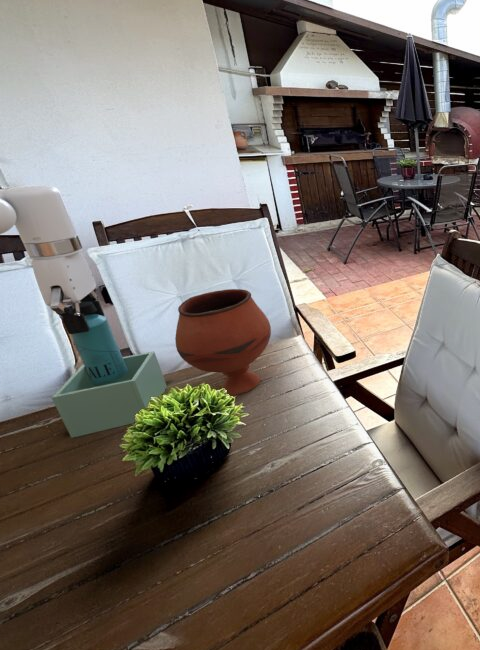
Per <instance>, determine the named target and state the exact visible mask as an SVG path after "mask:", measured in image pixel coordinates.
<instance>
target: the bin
mask: <svg viewBox="0 0 480 650" xmlns="http://www.w3.org/2000/svg"><path fill="white" fill-rule="evenodd" d="M123 357H124V358H123V359H124V361H125V363H126V367H127V373H126V374H125V375H124V376H122V377H120V378H118V379H116V380H114V381H111V382H107V383H102V384H95V383H93V382H92V381H91V380H90V378H89V376H88V374H87V370H85V369H84V367H85V366H84V364H83V363H82V364H81V365H80V366H79V368H77V370H76V371H75V372H74V373H73V374H72V375H71V376H70V377H69V378H68V379H67V380H66V381H65V383H64V384H63V385H62V386H61V387H60V388H59V389H58V390H57V391H56V392H55V393H54V394H53V395H52V397H51V399H52V402H53V404H54V406H55V408H56V410H57V412H58V414H59V416H60V418H61V419H62V422H63V424H64V426H65V427H66V430H67V432H68V434H69V436H70V438H71V439H73V438H78V437H81V436H87V435H90V434H94V433H98V432H103V431H107V430H112V429H115V428H119V427H123V426H127V425H132V424H135V423H134V422H135V415H136V413H138V412H139V411H140V410H141V409H143V408H147V407H148V404H149V401H150V399H151V397H158V396H160V395H161V394H163V393H164V394H165V392H166V390H167V388H168V386H167V383H166V379H165V376H164V374H163V372H162V369H161V367H160V363H159V361H158V358H157V355H156V353H155V351H149V352H144V353H143V352H142V353H137V354H132V355H127V356H123ZM165 389H166V390H165ZM164 394H163V395H164Z"/></svg>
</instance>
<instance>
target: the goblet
mask: <svg viewBox="0 0 480 650" xmlns="http://www.w3.org/2000/svg"><path fill="white" fill-rule="evenodd" d="M177 311H178V319H177V324H176V329H175V338H174V340H175V341H174V342H175V348H176V351H177V353H178V355H179V356H180V358H181V359H182V360H183V361H185V363H187V364H188V365H190V366H192V367H194V368H195V369H197V370H200V371H203V372H207V373H217V374H218V373H219V374H220V373H222V375H224V376H225V377H226V378H225V379H224V381H223V382H222V385H221V389H222V388H225V389H226V390H227V393H228V394H229V395H232V396H238V395H241V394H244V393H247V392H249V391H251V390H253V389H255V388H256V387H257V386H258V385H259V384H260V382H261V378H260V376H259V375H258V374H256V373H254V372H252V371H250V370H249V368H250V364H253V363H254V362H256V360H257V359H258V358H259V357H261V355H262V353H264V351H265V350H266V348H267V347H268V345H269V342H270V339H271V335H272V328H271V323H270V321H269V318H268V317H267V316H266V314H265V312H264V311H263V310H262V309H261V308H260V306H259V305H258V304H257V303H256V302H255V300H254V298H253V297H252V293H251V291H249V290H246V289H240V288H229V289H228V288H227V289H222V290H215V291H210V292H206V293H201V294H198V295H194V296H191V297H189V298H187V299H186V300H184V301H183V302H182V303H181V304H180V305H179V306H178V308H177ZM229 395H228V396H229Z"/></svg>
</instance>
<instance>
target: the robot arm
mask: <svg viewBox="0 0 480 650" xmlns="http://www.w3.org/2000/svg"><path fill="white" fill-rule="evenodd" d="M60 191H61V190H59V189H58V188H57V187H55V186H53V185H48V184H44V185H43V184H35V185H21V186H14V187H9V188H3V189H1V188H0V235H2V234H4V233H7V232H8V231H10V230H11V229H12V228H13V227H14V226H15V228H16V231H17V233H18V235H19V238H20V240H21V241H22V244H23V246H24V248H25V250H26V253H27V255H28V257H29V259H30V260H31V264H32V269H33V275H34V277H35V278H34V279H35V280H36V283H37V287H38V290H39V292H40V294H41V297H42V299H43V302H44V303H45V305H46V306H48V307H49V308H50V310H51V311H53V312H54V313H55V314H56V315H58V316H59V318H60V319H61V320H62V322H63V324H64V327H65V330H66V331H67V334H69V335H71V334H76V333H82V332H88V331H89V330H90V328H89V326H88V324H87V321H86V319H85V316H86V315H85V316H84V314H80V308H79V303H81V302H92V303H93V304H94V306H95V307H96V311H95V312H94V313H91V314H97V315H101V316H104V317H105V313H104V310H103V307H102V305H101V302H100V300H99V296H98V294H97V288H96V287H97V283H96V280H95V277H94V274H93V272H92V270H91V267H90V265H89V263H88V261H87V259H86V258H85V256H84V254H83V252H84V248H83V246H82V243H81V239H80V238H79V236H78V232H77V230H76V228H75V226H74V222H73V220H72V217H71V215H70V213H69V211H68V208H67V206H66V203H65V201H64V198H63V195H62V193H61V192H60ZM65 300H70V301H65ZM71 305H72V306H73V309H71V308H69V306H71ZM91 314H89V315H91Z"/></svg>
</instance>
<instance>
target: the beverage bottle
mask: <svg viewBox="0 0 480 650" xmlns="http://www.w3.org/2000/svg"><path fill="white" fill-rule="evenodd" d="M68 307H69V308H71V309H73V306H72V305H68ZM79 308H80V314H84V316H85V315H86V316H85V319H86V321H87V324H88V326H89V328H90V330H89V331H88V332H82V333H76V334H70V337H71V339H72V343H73V346H74V347H75V351H76V352H77V353H78V354H77V355H78V356H79V357H80V358H79V360H80V362H81V363H82V365H83V364H84V366H85V367H84V369H85V370H87V374H88V376H89V378H90V380H91V381H92V382H93V383H95V384H102V383H107V382H111V381H114V380H116V379H118V378H120V377H122V376H124V375H125V374H126V373H127V367H126V363H125V361H124V359H123V358H124V357H125V356H123V354H122V351H121V349H120V346H119V345H118V344H117V341H116V338H115V336H114V334H113V331H112V328H111V326H110V323H109V321H108V317H106V316H105V315H104V316H101V315H97V314H91V313H94V312H95V311H96V307H95V306H94V304H93V303H92V302H79ZM89 314H91V315H89Z"/></svg>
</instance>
